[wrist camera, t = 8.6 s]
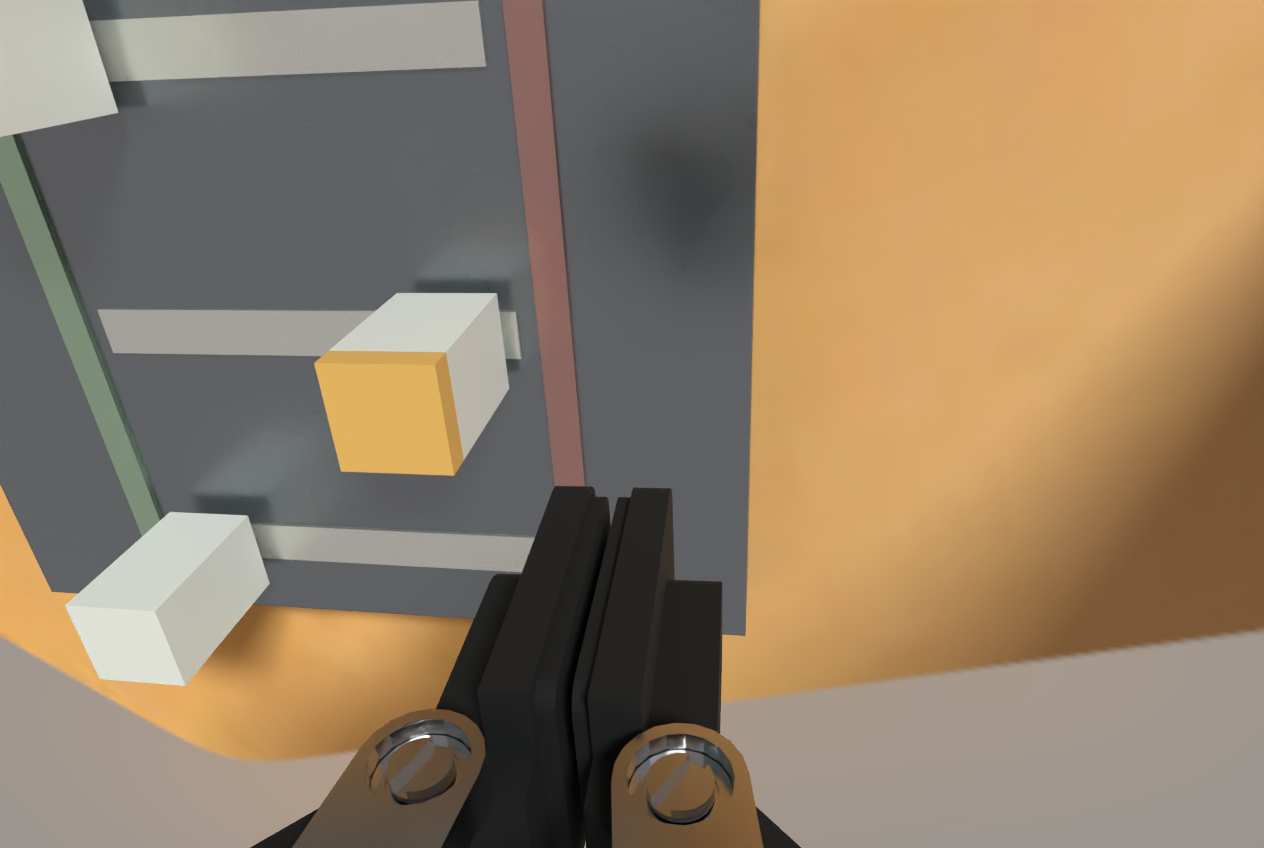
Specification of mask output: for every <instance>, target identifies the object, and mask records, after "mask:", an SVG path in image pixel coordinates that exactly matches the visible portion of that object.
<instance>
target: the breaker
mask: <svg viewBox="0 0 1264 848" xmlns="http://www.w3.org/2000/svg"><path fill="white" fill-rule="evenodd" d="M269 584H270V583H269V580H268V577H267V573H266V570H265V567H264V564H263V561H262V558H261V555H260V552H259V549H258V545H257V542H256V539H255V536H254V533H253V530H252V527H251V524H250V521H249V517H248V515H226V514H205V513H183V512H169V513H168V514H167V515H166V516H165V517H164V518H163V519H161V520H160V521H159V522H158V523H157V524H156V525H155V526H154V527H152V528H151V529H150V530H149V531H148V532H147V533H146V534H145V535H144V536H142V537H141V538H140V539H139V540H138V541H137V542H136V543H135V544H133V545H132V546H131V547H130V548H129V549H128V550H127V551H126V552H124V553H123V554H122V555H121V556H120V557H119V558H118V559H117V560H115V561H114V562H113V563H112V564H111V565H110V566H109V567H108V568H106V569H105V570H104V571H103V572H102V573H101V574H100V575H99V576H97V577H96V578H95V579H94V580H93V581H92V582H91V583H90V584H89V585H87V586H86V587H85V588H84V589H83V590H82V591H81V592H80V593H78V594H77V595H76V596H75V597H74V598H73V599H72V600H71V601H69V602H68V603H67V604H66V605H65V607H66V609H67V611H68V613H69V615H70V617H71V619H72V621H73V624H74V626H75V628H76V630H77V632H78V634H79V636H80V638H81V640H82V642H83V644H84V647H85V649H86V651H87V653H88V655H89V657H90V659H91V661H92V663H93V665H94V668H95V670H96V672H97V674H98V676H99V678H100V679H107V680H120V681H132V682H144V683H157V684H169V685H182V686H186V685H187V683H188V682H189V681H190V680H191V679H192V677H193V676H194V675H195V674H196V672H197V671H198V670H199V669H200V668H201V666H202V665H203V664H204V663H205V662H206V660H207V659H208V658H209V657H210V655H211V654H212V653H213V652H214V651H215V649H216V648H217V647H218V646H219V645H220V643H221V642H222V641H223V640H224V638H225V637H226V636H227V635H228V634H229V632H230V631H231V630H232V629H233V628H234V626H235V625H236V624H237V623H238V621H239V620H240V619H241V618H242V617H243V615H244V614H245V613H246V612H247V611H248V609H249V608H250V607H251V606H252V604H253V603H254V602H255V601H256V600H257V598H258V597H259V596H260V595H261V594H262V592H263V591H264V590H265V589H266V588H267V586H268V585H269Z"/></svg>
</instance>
